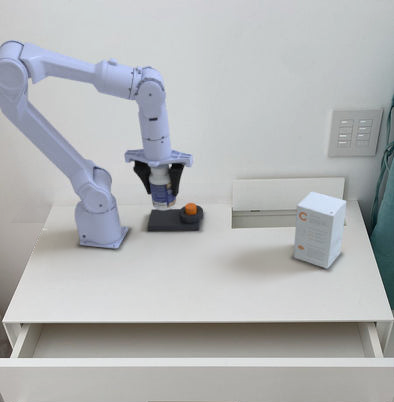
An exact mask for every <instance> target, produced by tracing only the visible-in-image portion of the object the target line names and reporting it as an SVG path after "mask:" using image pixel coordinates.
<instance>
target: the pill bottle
mask: <svg viewBox="0 0 394 402" xmlns="http://www.w3.org/2000/svg"><path fill="white" fill-rule="evenodd" d="M150 168H151V174H150V175H149V183H150V190H151V195H150V196H151V203H152V207H153V208H154V209H158V210H169V209H174V207H175V206H176V205H177V196H176V197H173V194H172V184H171V179H170V176H169V173H168V171H169V169H170V164H161V165H158V166H157V167H151V166H150Z"/></svg>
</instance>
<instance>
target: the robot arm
mask: <svg viewBox="0 0 394 402" xmlns="http://www.w3.org/2000/svg"><path fill="white" fill-rule="evenodd" d="M48 77H53V78H59V79H64V80H69V81H75V82H80V83H84V84H90V85H93V87H94V88H95V90H96V91H97V93H99V94H103V95H107V96H112V97H116V98H120V99H123V100H129V101H135V102H136V104H137V105H138V112H137V114H138V122H139V128H140V134H141V143H142V148H139V149H127V150H126V151H125V152H124V154H123V155H124V162H125V163H127V164H130V163H132V162H134V164H133V167H132V168H133V169H132V171H133V172H134V173H135V175H136V176H137V177H138V178H139V179H140V181H141V183H142V184H143V186H144V189H145V191H146V194H147V195H149V196H151V190H150V183H149V175H150V174H151V168H150V166H151V167H157V166H158V165H161V164H169V165H170V166H169V168H170V169H169V171H168V173H169V176H170V179H171V184H172V194H173V197H176V198H177V196H178V195H179V193H180V184H181V179H182V174H183V172H184V169H185V167H186V168H192V167H193V164H194V155H193V153H186V152H182V151H179V150H176V149H172V146H171V134H170V124H169V116H168V109H167V108H166V107H167V103H166V98H167V92H166V88H165V82H164V77H163V76H162V74H161V72H160V71H159V70H157V69H156V68H155V67H152V66H150V65H145V66H139V65H137V66H136V67H133V66H131V65H130V66H129V65H126V64H123V63H122V64H121V63H119V62H118V59H116V58H113V57H110V58H109V60H107V59H102V60H100V61H98V62H97V63H91V62H88V61H84V60H82V59H78V58H77V57H76V58H75V57H73V56H69V55H65V54H62V53H59V52H57V51H54V50H49V49H47V48H44V47H41V46H39V45H37V44H35V43H33V42H24V43H23V42H22V41H20V40H17V39H8V40H6V41H4V42H2V43H1V44H0V111H1V113H2V114H3V115H4V117H5V118H7V120H8V121H9V122H10V123H11V124H13V125H14V126H15V127H16V128H17V129H18V131H20V132H21V134H23V135H24V136H25V138H27V139H28V140H29V141H30V142H31V144H33V145H34V146H35V147H36V148H37V149H38V150H39V151H40V152H41V153H42V154H43V155H44V156H45V157H46V158H47V159H48V160H49V161H50V162H51V163H52V164H53V165H54V166H55V167H56V168H57V169H58V170H59V171H60V172H61V173H62V174H63V175H65V177H66V178H67V179H68V180H69V182H70V185H71V187H72V189H73V191H74V193H75V195H77V196H78V197H79V199H80V201H78V202H77V203H76V205H75V208H74V222H75V226H76V229H77V233H78V236H79V240H80V241H79V245H80V246H86V247H87V246H88V247H95V248H96V247H97V248H105V249H115V250H116V249H118V248H119V247H120V246H121V244H122V242H123V240H124V238H125V236H126V235H127V233H128V232H129V227H128V226H122V224H121V219H120V213H119V209H118V208H119V207H118V203H117V199H116V197H115V195H114V194H113V193H112V183H113V178H112V175H111V173H110V172H109V171H108V170H107V169H106V168H104V167H102V166H99V165H97V164H96V163H95V162H94V161H93V160H92V159H87V158H84V157H83V156H82V154H81V153H80V152H79V151H78V150H77V149H76V148H75V147H74V146H73V145H72V144H71V143H70V142H69V141H68V140H67V139H66V138H65V137H64V136H63V134H61V132H59V130H57V128H55V126H54V125H53V124H52V123H51V122H50V120H48V119H47V118H46V117H45V116H44V115H43V114H42V113H41V112H40V111H39V109H37V107H35V106H34V104H32V103H31V101H30V100H29V79H31V84H32V85H36V84H37V83H39V82H41V81H43V80H44V79H46V78H48Z"/></svg>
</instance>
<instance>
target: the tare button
mask: <svg viewBox="0 0 394 402" xmlns="http://www.w3.org/2000/svg"><path fill="white" fill-rule="evenodd" d="M196 205H197V204H196V203H194V202H189V203H186V204H185V205H184V206H185V211H186V214H187V215H194V214H196V213H197V208H196Z"/></svg>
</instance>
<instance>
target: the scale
mask: <svg viewBox="0 0 394 402" xmlns="http://www.w3.org/2000/svg"><path fill="white" fill-rule="evenodd" d="M196 208H197V213H196V214H194V215H187V214H186V211H185V205H184V206H182V207H180V208H171V209H169V210H158V209H156V208H154V209H151V211H150V214H149V218H148V222H147V231H148V232H177V231H178V232H179V231H180V232H181V231H182V232H183V231H185V232H186V231H187V232H188V231H193V232H194V231H200V229H201V221H202V220H203V219H204V209H203V207H201V205H198V204H196Z"/></svg>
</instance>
